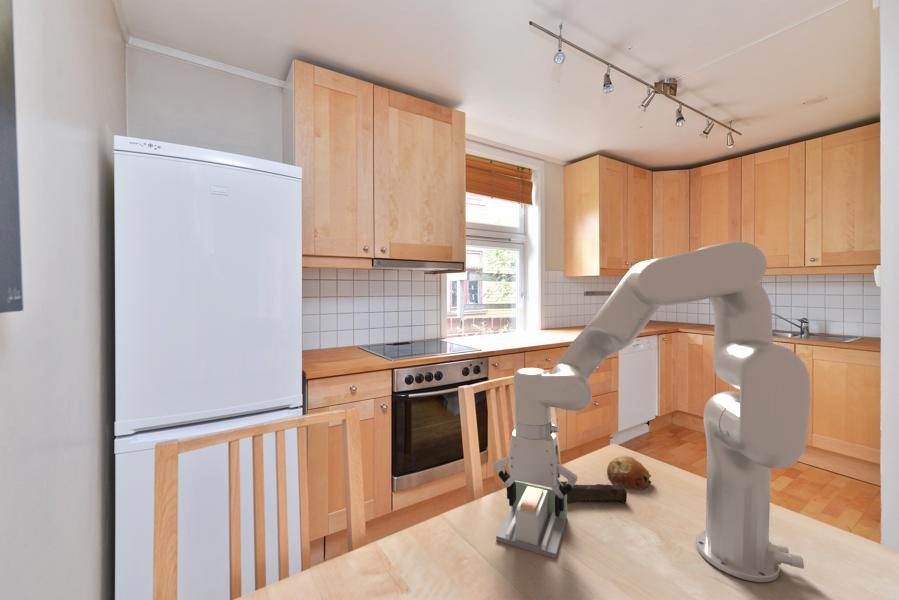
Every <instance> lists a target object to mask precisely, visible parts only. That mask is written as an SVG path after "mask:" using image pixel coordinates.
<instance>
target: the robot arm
mask: <svg viewBox="0 0 899 600" xmlns="http://www.w3.org/2000/svg"><path fill="white" fill-rule="evenodd" d="M763 252H764V251H762V250H761V249H760V248H759V247H757V246H756V245H754V244H752V243H750V242H746V241H741V240H740V241H739V240H738V241H737V240H735V241H734V240H733V241H729V242H727V241H726V242H723V243H719V244H718V243H717V244H713V245H707V246H703V247H700V248H697V249H695V250H692V251H688V252H682V253H679V254H674V255H668V256H662V257H657V258H652V259H647V260H643V261H640V262H638V263H636V264H634V265H633V266H632V267H630V269H629V270H628V271H627V273H626V274H625V275H624V276H623V277H622V279H621V280H620V282H619V283H618V284H617V285H616V287H615V288H614V290H613V291H612V293H611V294H610V296H609V297H608V298H607V299H606V301H605V303H603V305H602V306H601V308H600V309H599V310H598V312H597V313H596V314H595V316H594V317H593V318H592V320H590V322H589V323H588V324H587V325H586V326H585V327H584V328H583V330H582V331H581V332H580V333H579V334H578V335H577V337H576V338H574V340H573V341H572V342H571V343H570V345H569V346H568V347H567V349H566V350H564V353H563V354H562V355H561V357H560V358H559V359H558V361H557V363H556V364H555V365H554V366H553V368H552V370H551V371H550V373H549V371H547V370H545V369H542V368H538V367H524V368H520V369H518V370H516V371H515V373H514V375H513V395H514V396H513V397H514V399H513V400H514V401H513V402H514V403H513V405H514V429H513V431H512V433H511V437H510V447H509V455H508V456H506V457H503V458H500V459H497V460H496V461H495V462H494V463H493V466H494V468H495V470H496V472H497V474H498V477H499V478H500V479H501V481H502V482H503V483H504V486H505V487H506V499H507V500H508V505H509V507H512V506H513V504H514V503H515V501H516V483H515V480H516V481H520V482H525V483H530V484H535V485H540V486H545V487H551V488H552V490H553V491H554V492H555V493H556V496H555V516H556V517H559V515H560V512H561V511H562V512H563V510H564V496H565V495H566V494H567V493H569V492H570V491H571V490H572V488H573V486H574V485H576V483H577V481H578V476H577V474H575V473H574V472H572V471H571V470H569V468H568V469H567V468H566V467H565V466H563V465H562V464H561V463H560V452H559V445H558V440H557V436H556V434H555V433H559V431H560V428H559V425H556V424H554V423H553V419H552V408H555V409H558V410H564V411H571V412H573V411H581V410H582V409H583V410H584V409H585V408H587V407H588V406H589V404H590V403H591V402H592V400H593V399H592V398H593V389H592V385H591V384H590V382H589V378H590V377H591V376H592V374H593V373H594V372H595V370H596V369H597V368H598V367H599V366H600V365H601V363H602V362H603V361H605V360H606V359H607V358H608V357H609V356H611V355H612V354H614V353H617V352H620V351H622V350H624V349H626V348H627V347H629V346H631V344H633V343H634V342H635V340H636V339H637V337H638V336H639V335H640V334H641V332H642V331H643V329H644V328H645V327H646V326H647V324H648V323H649V322H650V320H651V319H652V318H653V316H655V314H656V312H658V310H659V309H660V307H662V306H663V307H664V306H667V307H669V306H674V305H681V304H687V303H692V302H697V301H702V300H706V299H709V301H710V303H711V306H712V308H713V315H714V317H713V318H714V331H713V332H714V333H713V334H714V335H713V354H712V365H713V371H714V373H715V375H716V376H717V377H718V378H719V379H720V380H721V381H723V382H724V383H726V384H728V385H729V386H731V387H733V388H736V389H738V390H739V392H738V391H732V390H728V391H722V392H718V393H716V394H714V395H713V396H711V397H710V398H709V399H708V400H707V402H706V404H705V406H704V409H703V415H702V417H703V418H702V419H703V427H704V428H703V429H704V434H705V439H706V455H707V457H706V462H707V463H706V491H705V492H706V493H705V494H706V496H705V497H706V498H705V500H706V501H705V502H706V503H705V506H706V507H705V510H706V511H705V530H704V531H701V532H700V533H698V534H697V535H696V538H695V545H696V549H697V551H698V552H699V554H700V555H701V556H702V557H703V559H705V560H706V561H707V562H708V563H709V564H711V565H712V566H713V567H715V568H717V569H719V571H720V570H721V571H722V572H724V573H726V574H728V575H730V576H733V577H736V578H738V579H742V580H745V581H750V582H754V583H768V582H773V581H775V580H776V579H778V577H779V575H780V566H782V564H783V565H787V566H788V565H789V566H791V567H794V568H799V569H802V570H803V569H804V568H805V562H804V559H803V557H802V556H801V555H798V554H794V553H790V550H789V548H788V547H787V546H784V545H780V544H778V545H777V544H774V543H772V542H771V541H770V540H769V539H770V513H771V511H770V509H771V506H770V504H771V485H772V484H771V482H772V481H771V480H772V479H771V478H772V477H771V475H772V474H771V469H777V470H780V469H785V468H788V467H791V466H792V465H794V464H796V463H797V462H798V461H799V460H800V459H801V457H802V456H803V454H804V452H805V449H806V446H807V442H808V436H809V435H808V434H809V433H808V432H809V421H810V420H809V418H810V400H811V399H810V398H811V378H810V374H809V371H808V368H807V366H806V364H805V362H804V361H803V360H802V358H801V357H800V356H799V355H798V354H797V353H795V352H794V351H792V350H791V349H789V348H787V347H785V346H783V345H781V344H776V343H774V340H773V338H774V337H773V311H772V304H771V301H770V298H769V295H768V293H767V291H766V290H765V288H764V287H763V285H762V284H761V283H760V281H761V280H763V278H764V276H765V275H766V272H767V268H768V263H767V262H768V261H767V258H766V255H765V253H763ZM507 465H508V472H507V470H506V469H505V468H504V467H505V466H507ZM561 476H562V477H563V478H565V479H567V481H568V482H567V483H566V484H564V485H563V484H562V483H561V482H562V481H561V480H560V478H561ZM560 481H561V482H560Z"/></svg>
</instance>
